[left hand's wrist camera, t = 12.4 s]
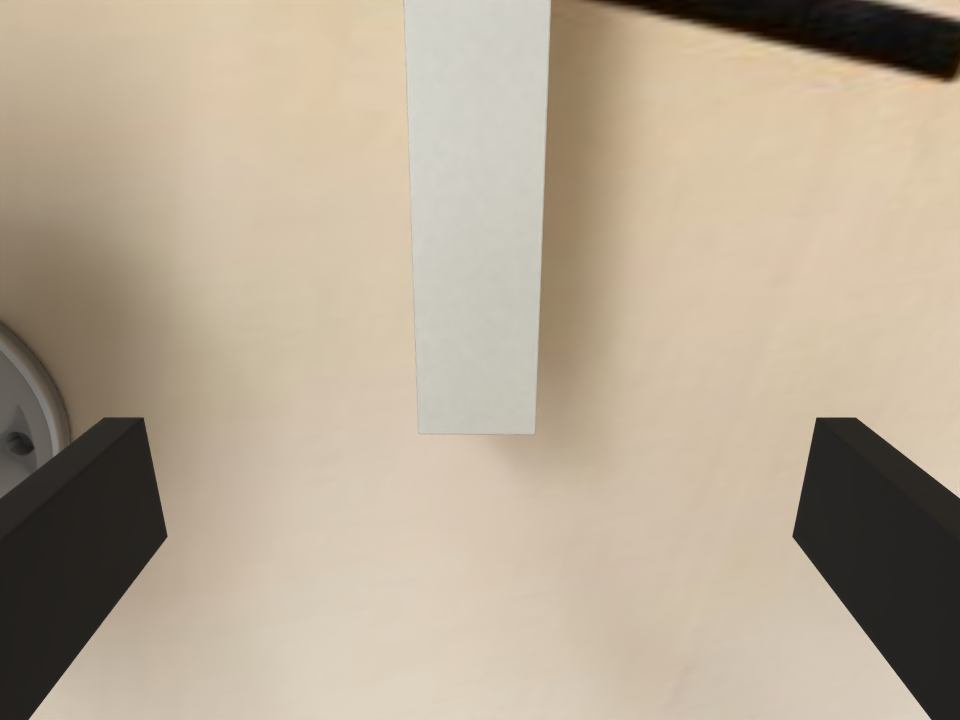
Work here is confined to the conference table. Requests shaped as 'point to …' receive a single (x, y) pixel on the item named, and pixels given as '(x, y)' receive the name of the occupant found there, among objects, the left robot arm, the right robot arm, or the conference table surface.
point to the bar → (477, 208)
